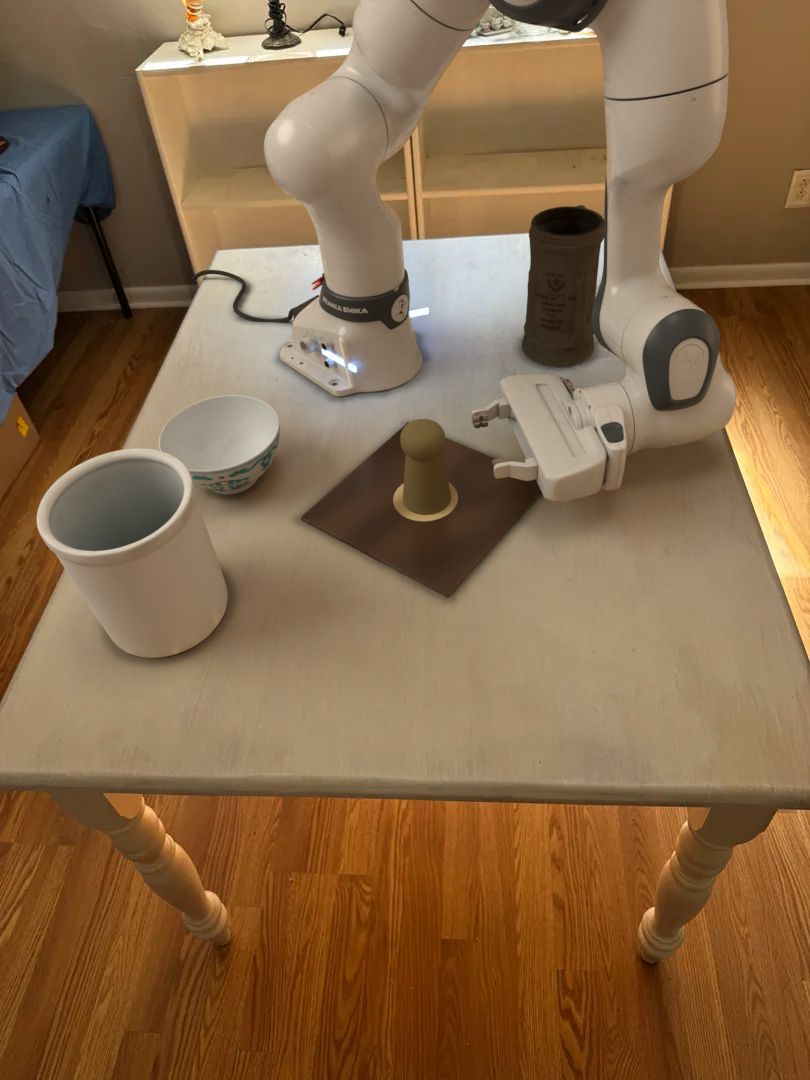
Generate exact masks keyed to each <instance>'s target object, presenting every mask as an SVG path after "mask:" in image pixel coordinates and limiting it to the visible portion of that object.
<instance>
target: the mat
mask: <svg viewBox="0 0 810 1080" xmlns="http://www.w3.org/2000/svg"><path fill="white" fill-rule="evenodd" d="M408 423H410V422H406V423H405V424H404V425H402V427H401V428H400V429H398V431H396V432H395V433H393V435H392V436H391V437H389V438H388V439H387V440H386V441H385V442H384V443H382V445H380V446H379V447H378V448H377V449H376V450H375V451H374V452H373V453H371V454H370V455H369V456H368V457H367V458H366V459H365V460H364V461H362V462H361V463H360V464H359V465H358V466H356V468H354V469H353V470H352V471H351V472H350V473H348V475H347V476H345V477H344V478H343V479H342V480H341V481H340V482H338V484H337V485H335V486H334V487H333V488H332V489H330V490H329V491H328V492H327V493H326V494H325V495H323V497H321V499H319V500H318V501H317V502H316V503H315V504H314V505H312V506H311V507H310V508H309V509H308V510H307V511H306V512H305V513H304V514H302V515H301V516H300V520H301V521H302V522H304V523H306V524H308V525H310V526H312V527H314V528H316V529H318V530H319V531H321V532H323V533H325V534H327V535H329V536H331V537H333V538H334V539H337V540H338V541H340V542H342V543H344V544H346V545H348V546H350V547H352V548H353V549H356V550H357V551H359V552H361V553H363V554H365V555H367V556H369V557H371V558H373V559H375V560H376V561H378V562H380V563H382V564H384V565H386V566H388V567H389V568H391V569H394V570H395V571H397V572H399V573H401V574H403V575H404V576H407V577H409V578H411V579H413V580H414V581H416V582H418V583H420V584H422V585H424V586H426V587H428V588H430V589H431V590H433V591H435V592H437V593H439V594H441V595H443V596H445V597H447V598H448V597H449V596H450V595H451V594H452V593H453V592H454V590H455V589H457V587H458V586H459V585H460V584H461V583H462V582H463V580H465V578H466V577H467V576H468V575H469V574H470V572H471V571H473V569H474V568H475V567H476V566H477V565H478V563H480V562H481V560H482V559H483V558H484V557H485V556H486V555H487V554H488V553H489V552H490V550H491V549H492V548H493V547H494V546H495V544H496V543H497V542H498V541H499V540H500V539H501V537H503V535H505V533H506V532H507V531H508V530H509V529H510V528H511V527H512V525H514V523H515V522H516V521H517V520H518V519H519V517H520V516H521V515H522V514H523V513H524V512H525V510H526V509H528V508H529V506H530V505H531V504H532V503H533V502H534V501H535V500H536V498H538V496H539V495H540V494H541V493H542V492H541V489H540V487H539V485H538V483H537V481H536V480H530V481H524V480H520V479H516V478H511V477H505V478H499V479H496V478H495V476H494V474H493V471H492V469H491V467H492V461H493V460H494V459H497V458H496V457H493V456H491V455H488V454H486V453H484V452H481V451H478V450H476V449H474V448H473V447H472V448H471V447H469V446H467V445H464V444H462V443H459V442H458V441H454V440H452V439H450V438H448V437H445V446H444V448H443V451H442V456H443V460H444V465H445V469H446V474H447V478H448V483H449V487H450V492H451V501H450V504H449V505H448V506H447V508H446V509H444V510H443V511H441V512H439V513H436V514H433V515H419V514H415V513H413V512H411V511H409V510H408V509H407V508H406V507H405V505H404V503H403V487H404V473H405V460H406V454H405V453H404V451H403V449H402V447H401V443H400V436H401V432H402V430H403V428H404V427H405V426H406V425H407V424H408Z"/></svg>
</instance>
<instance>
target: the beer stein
mask: <svg viewBox="0 0 810 1080" xmlns="http://www.w3.org/2000/svg"><path fill="white" fill-rule="evenodd" d="M528 238H529V254H530V259H529V262H530V265H529V270H528V275H527V277H528V278H527V279H528V280H527V294H526V295H527V296H526V297H527V298H526V312H525V322H524V325H523V333H524V334H523V337H522V340H521V351H522V352H523V354H524V355H525V356H526V358H528V359H529V360H531V361H532V362H534V363H536V364H537V365H542V366H546V367H553V368H555V367H556V368H561V367H562V368H563V367H571V366H574V365H578V364H581V363H582V362H585V361H586V360H587V359H589V358H590V357H591V356H592V354H593V352H594V350H595V338H594V337H595V335H594V332H593V329H592V322H591V317H592V309H593V305H594V302H595V298H596V295H597V285H598V283H597V282H598V273H599V265H600V264H599V263H600V254H601V245H602V242H604V216H602V214H600V213H599V212H597V211H595V210H593V209H590V208H587V207H586V206H585V205H583V204H579V205H576V206H574V205H573V206H557V207H552V208H546V209H544V210H542V211H540V212H538V213H537V214H535V215H534V216H533V217H532V219H531V221H530V228H529V231H528Z"/></svg>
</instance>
